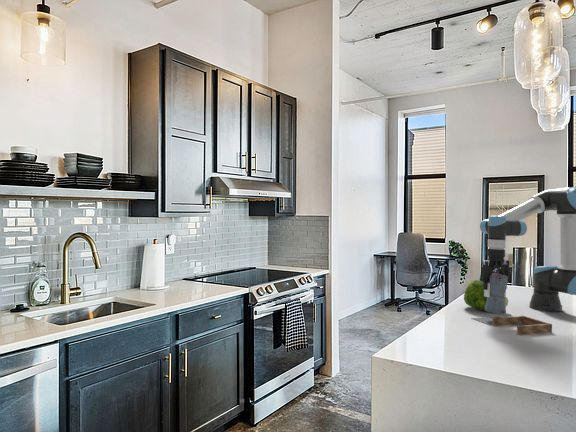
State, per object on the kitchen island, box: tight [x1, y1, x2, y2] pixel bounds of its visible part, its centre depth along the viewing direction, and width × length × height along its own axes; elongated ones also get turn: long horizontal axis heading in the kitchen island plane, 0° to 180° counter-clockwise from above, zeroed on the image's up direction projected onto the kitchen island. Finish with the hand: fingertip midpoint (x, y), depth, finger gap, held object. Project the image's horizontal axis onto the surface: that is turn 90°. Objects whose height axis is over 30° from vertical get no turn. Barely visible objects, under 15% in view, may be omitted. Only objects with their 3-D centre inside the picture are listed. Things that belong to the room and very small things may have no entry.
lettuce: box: [463, 279, 509, 312], centre depth 223 cm, size 16×21×15 cm
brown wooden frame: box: [491, 315, 553, 336], centre depth 189 cm, size 18×15×4 cm
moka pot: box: [485, 269, 508, 315], centre depth 202 cm, size 10×15×20 cm, turn 168°
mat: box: [471, 315, 499, 326], centre depth 202 cm, size 16×12×1 cm
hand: (494, 296), depth 201 cm, fingers closed on moka pot, 8 cm apart
